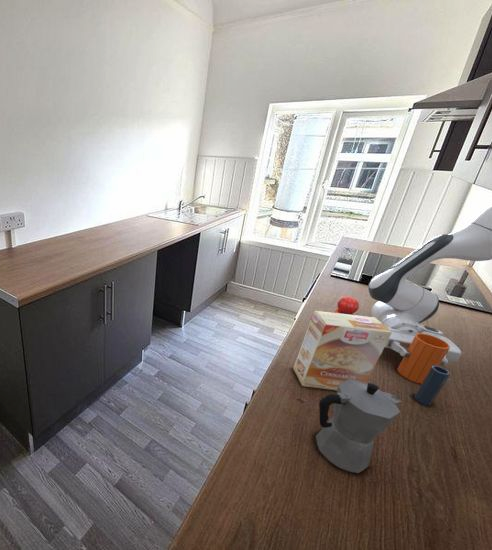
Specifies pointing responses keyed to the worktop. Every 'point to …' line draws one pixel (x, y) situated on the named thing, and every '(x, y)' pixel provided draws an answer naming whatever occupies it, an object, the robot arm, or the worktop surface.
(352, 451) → the coffeepot
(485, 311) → the worktop surface
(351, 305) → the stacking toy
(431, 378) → the slim cup
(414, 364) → the orange staved tumbler
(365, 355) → the coffeecake box
